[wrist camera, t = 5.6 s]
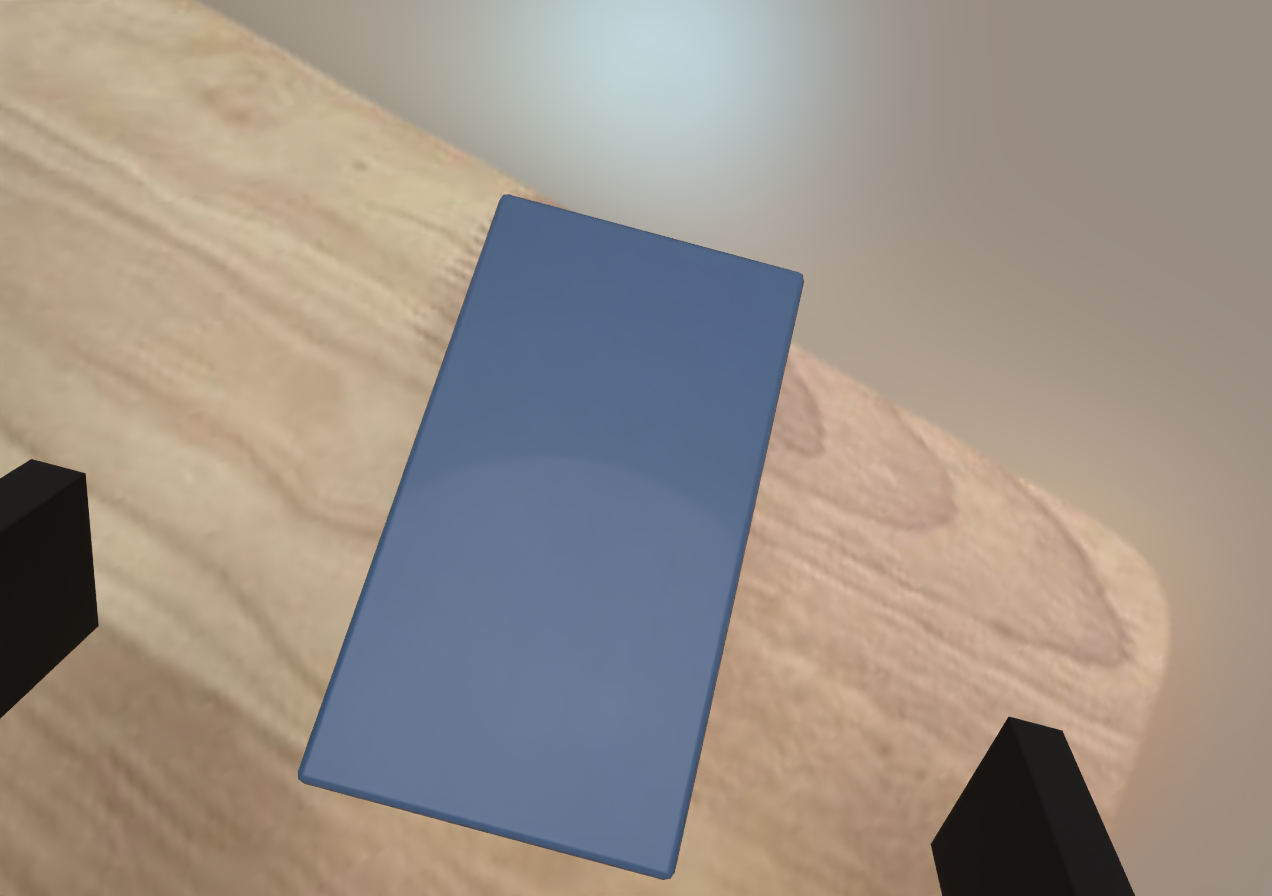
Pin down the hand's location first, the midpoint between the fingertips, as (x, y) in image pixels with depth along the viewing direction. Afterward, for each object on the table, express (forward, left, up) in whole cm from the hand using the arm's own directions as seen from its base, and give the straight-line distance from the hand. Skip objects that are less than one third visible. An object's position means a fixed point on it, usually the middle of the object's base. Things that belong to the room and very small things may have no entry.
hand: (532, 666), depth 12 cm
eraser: (+1, -1, -8) cm, 8 cm away
